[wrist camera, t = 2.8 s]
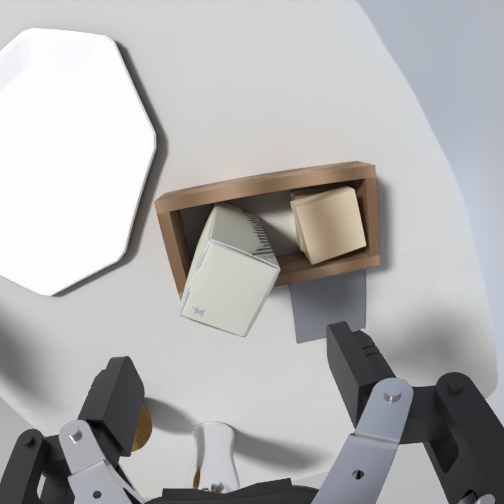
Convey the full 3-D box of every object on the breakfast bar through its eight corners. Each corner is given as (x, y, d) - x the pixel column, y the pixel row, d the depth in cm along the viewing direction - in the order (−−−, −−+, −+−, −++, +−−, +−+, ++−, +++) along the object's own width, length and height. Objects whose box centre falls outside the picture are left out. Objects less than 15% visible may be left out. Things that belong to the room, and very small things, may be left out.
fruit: (123, 379, 35) (107, 426, 27) (165, 403, 36) (156, 451, 29) (105, 401, 36) (89, 444, 28) (143, 422, 38) (133, 467, 30)
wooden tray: (356, 161, 28) (375, 165, 24) (363, 250, 31) (379, 265, 27) (164, 193, 27) (154, 202, 24) (186, 282, 31) (181, 302, 27)
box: (237, 263, 30) (245, 344, 18) (194, 246, 29) (174, 320, 17) (261, 213, 29) (285, 269, 17) (216, 194, 28) (207, 238, 16)
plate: (-10, 30, 19) (-17, 27, 17) (195, 59, 24) (193, 55, 22) (-51, 239, 27) (-57, 243, 25) (114, 317, 32) (110, 325, 30)
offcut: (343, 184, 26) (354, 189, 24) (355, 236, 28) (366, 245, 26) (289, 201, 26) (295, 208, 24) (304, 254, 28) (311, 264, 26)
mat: (363, 263, 31) (364, 264, 31) (363, 326, 34) (364, 327, 34) (289, 278, 31) (289, 279, 31) (296, 342, 34) (297, 343, 34)
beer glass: (179, 432, 39) (170, 522, 24) (211, 412, 37) (210, 511, 23) (215, 451, 41) (216, 535, 27) (248, 433, 39) (256, 524, 25)
